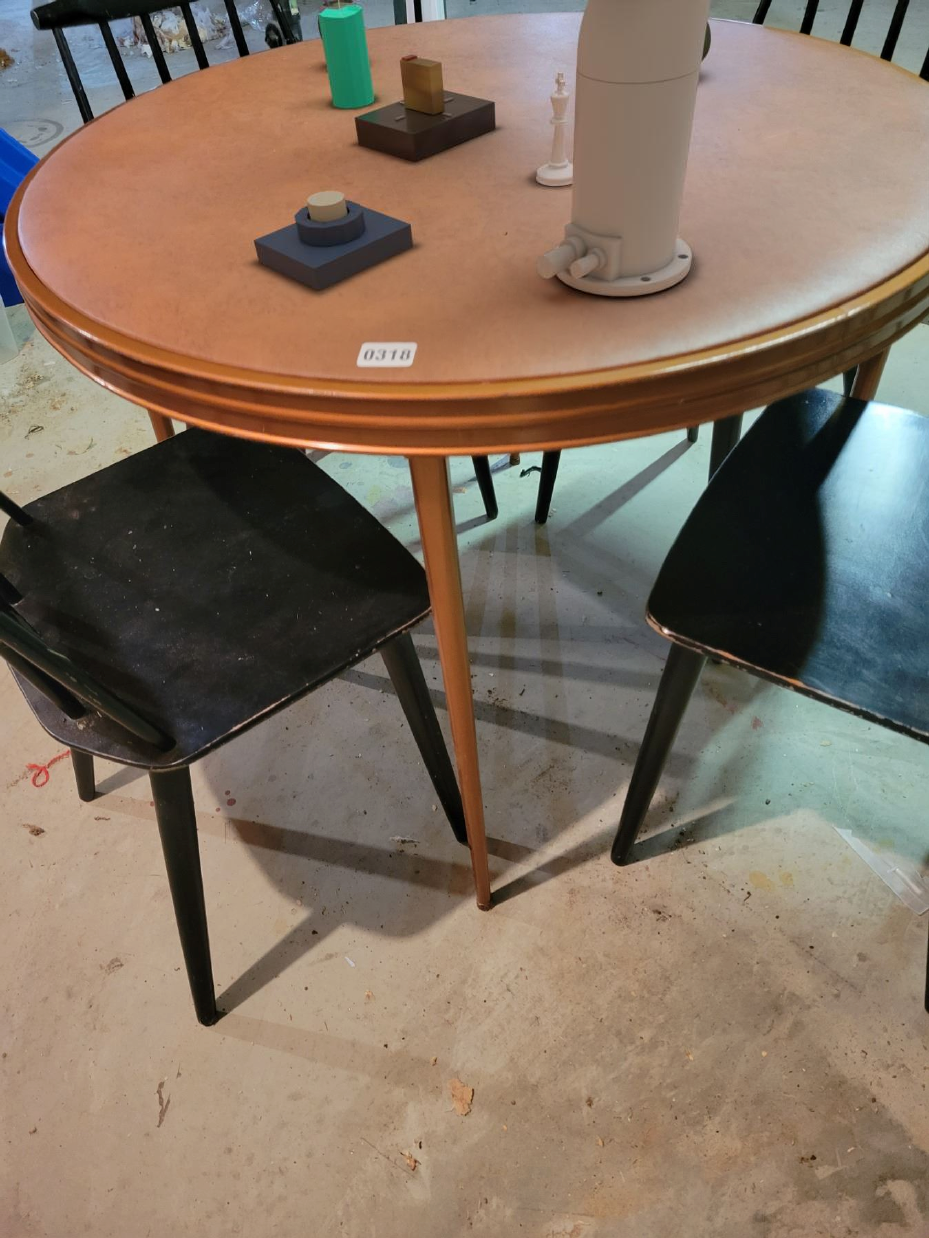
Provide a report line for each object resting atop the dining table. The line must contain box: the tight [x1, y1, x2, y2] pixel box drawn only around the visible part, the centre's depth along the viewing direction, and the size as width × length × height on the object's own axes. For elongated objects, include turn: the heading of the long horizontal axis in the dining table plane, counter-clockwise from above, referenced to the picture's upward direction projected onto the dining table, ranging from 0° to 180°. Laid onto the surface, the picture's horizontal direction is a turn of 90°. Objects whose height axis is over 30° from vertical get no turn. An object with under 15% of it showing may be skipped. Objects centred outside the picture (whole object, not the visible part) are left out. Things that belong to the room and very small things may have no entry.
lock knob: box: [399, 53, 445, 115], centre depth 95 cm, size 5×2×5 cm, turn 44°
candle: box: [317, 0, 375, 109], centre depth 106 cm, size 6×6×12 cm
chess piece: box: [535, 71, 573, 187], centre depth 83 cm, size 5×5×10 cm
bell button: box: [306, 190, 348, 222], centre depth 74 cm, size 4×4×2 cm
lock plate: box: [354, 89, 496, 163], centre depth 98 cm, size 14×11×3 cm
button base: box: [253, 199, 414, 292], centre depth 76 cm, size 12×10×4 cm
